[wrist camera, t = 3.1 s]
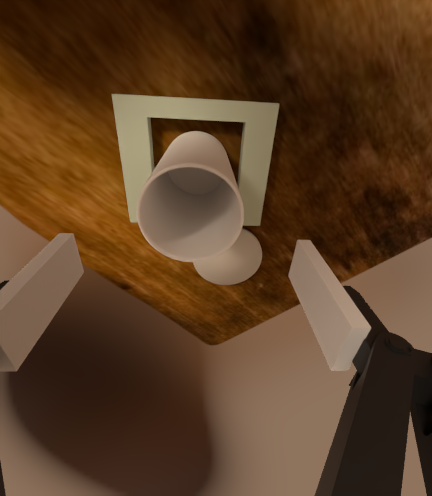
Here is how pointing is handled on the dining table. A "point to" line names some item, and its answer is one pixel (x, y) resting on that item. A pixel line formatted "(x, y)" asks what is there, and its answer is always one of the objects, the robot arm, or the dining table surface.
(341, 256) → the dining table surface
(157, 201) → the cup
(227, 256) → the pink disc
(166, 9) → the dining table surface
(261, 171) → the pale green rectangular frame
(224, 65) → the dining table surface
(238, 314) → the dining table surface
